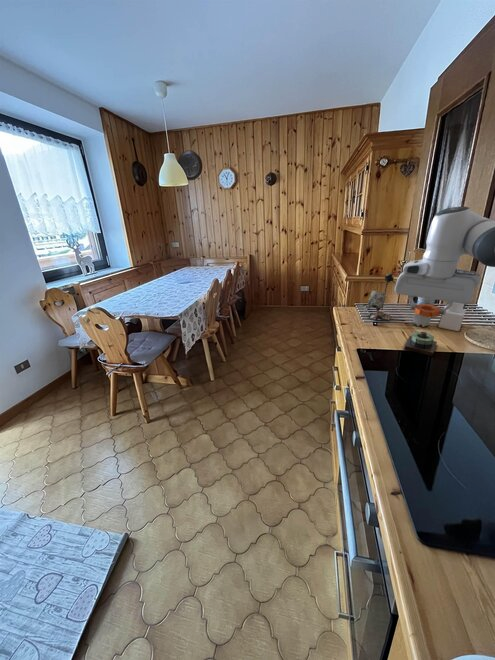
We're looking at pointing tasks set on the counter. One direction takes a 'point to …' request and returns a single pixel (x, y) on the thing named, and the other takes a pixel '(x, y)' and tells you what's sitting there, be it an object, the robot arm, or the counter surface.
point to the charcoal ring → (420, 345)
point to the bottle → (422, 319)
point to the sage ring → (426, 341)
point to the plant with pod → (379, 301)
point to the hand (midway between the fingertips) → (426, 311)
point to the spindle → (419, 350)
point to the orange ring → (427, 310)
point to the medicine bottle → (453, 317)
